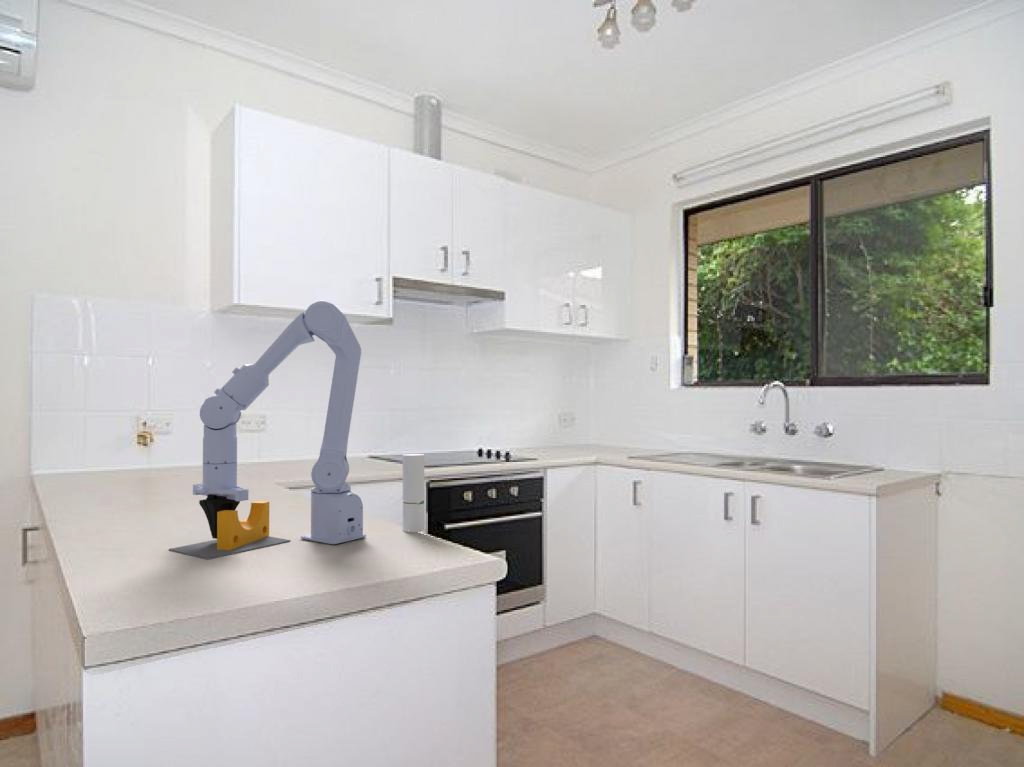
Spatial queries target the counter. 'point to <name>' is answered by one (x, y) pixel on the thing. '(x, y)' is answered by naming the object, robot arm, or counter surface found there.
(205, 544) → the mat
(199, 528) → the counter surface
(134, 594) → the counter surface
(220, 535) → the pipe clamp
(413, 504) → the tube
